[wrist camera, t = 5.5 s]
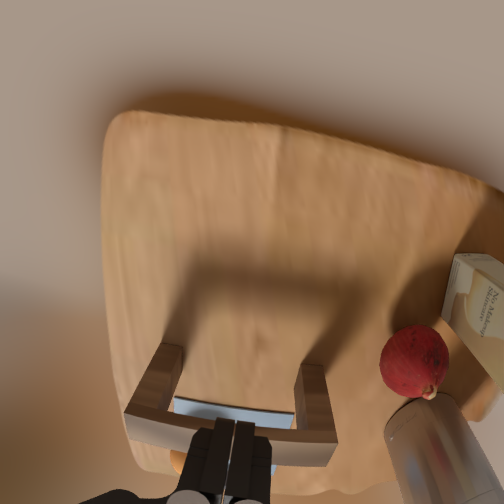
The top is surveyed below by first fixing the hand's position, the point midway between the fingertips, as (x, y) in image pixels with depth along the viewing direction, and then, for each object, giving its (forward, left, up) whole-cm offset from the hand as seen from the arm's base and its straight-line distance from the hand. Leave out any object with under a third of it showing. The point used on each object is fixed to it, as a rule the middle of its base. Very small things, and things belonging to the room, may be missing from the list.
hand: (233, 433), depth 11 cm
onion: (-14, -2, -15) cm, 20 cm away
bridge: (-3, +8, -15) cm, 17 cm away
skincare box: (-17, -9, -15) cm, 24 cm away
